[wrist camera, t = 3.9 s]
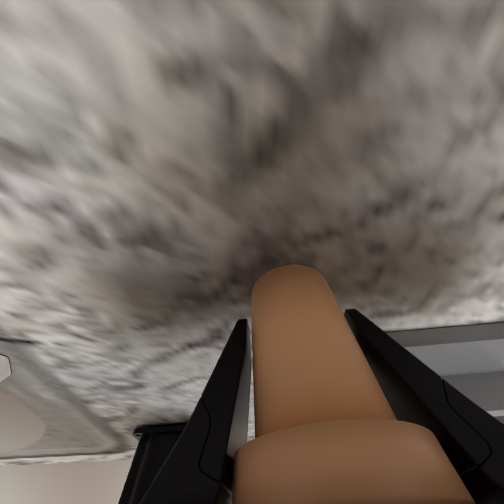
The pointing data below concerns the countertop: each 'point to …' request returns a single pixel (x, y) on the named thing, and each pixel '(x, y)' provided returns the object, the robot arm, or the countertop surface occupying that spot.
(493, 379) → the housing
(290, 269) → the tan flared peg
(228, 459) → the robot arm
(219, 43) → the countertop surface
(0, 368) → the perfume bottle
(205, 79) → the countertop surface
